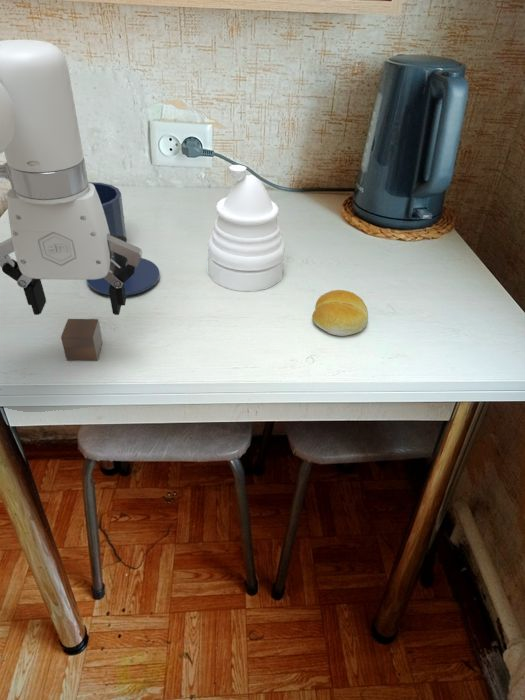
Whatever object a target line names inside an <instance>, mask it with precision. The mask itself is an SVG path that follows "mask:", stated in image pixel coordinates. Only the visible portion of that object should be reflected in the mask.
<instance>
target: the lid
mask: <svg viewBox="0 0 525 700" xmlns="http://www.w3.org/2000/svg"><path fill="white" fill-rule="evenodd" d="M114 237H115V238H118V239H120V240H122V241H124V242H127V243H128V238H127V236H126V237H124V236H114ZM112 260H113V261H115V262H116V263H117V264H118V265H119V266H120V267H122V266H123V265H124V264H125V263H126V262H127V258H126V257H124V256H122V255H119V254H117V253H115V252H113V258H112ZM159 280H160V269H159V267H158V266H157V264H155V263H154V262H152V261H151V260H149V259H146V258H143V257H141V259H140V261H139V263H138V265H137V267H136V269H135V271H134V274H133V275H132V276H131V277H130V278H129V279H128V280H127V281H125V282H124V289H125V296H131V295H136V294H140V293H143V292H146V291H147V290H150V289H151V288H153V287H154V286H155V285H156V284H157V283H158V281H159ZM86 283H87V285H88V286H89V287H90V288H91V289H92V290H93V291H95V292H97V293H100V294H103V295H107V296H110V295H109V287H110V283H109V282H107V281H106V280H105V279H104V278H100V279H92V280H86Z"/></svg>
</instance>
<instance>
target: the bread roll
mask: <svg viewBox="0 0 525 700" xmlns="http://www.w3.org/2000/svg"><path fill="white" fill-rule="evenodd" d="M314 306H315V307H314V308H315V310H314V311H313V313H312V318H311V319H312V322H313V324H315V325H316V326H317V327H318V328H319V329H322V330H323V331H325V332H326V333H328V334H330V335H333V336H339V337H341V336H342V337H343V336H352V335H354V334H357V333H360V332H362V331H363V330H364V328H365V327H366V326H367V323H368V322H369V311H368V307H367V305H366V303H365V302H364V300H363V298H361V297H360V296H359V295H357V294H356V293H354V292H352V291H349V290H344V289H336V290H335V289H334V290H331V291H328V292H326V293H323V294H322V295H320V296H319V297H318V299H317V300H316V303H315V305H314Z"/></svg>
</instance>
